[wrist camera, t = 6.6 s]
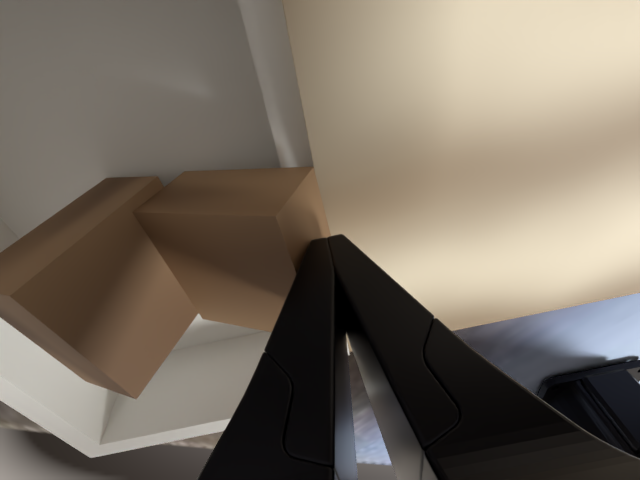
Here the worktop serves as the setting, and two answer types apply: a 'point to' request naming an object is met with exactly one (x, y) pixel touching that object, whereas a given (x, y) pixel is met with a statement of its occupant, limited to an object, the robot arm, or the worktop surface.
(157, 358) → the walnut tile
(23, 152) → the box
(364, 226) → the birch plate
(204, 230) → the walnut tile
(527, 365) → the worktop surface
